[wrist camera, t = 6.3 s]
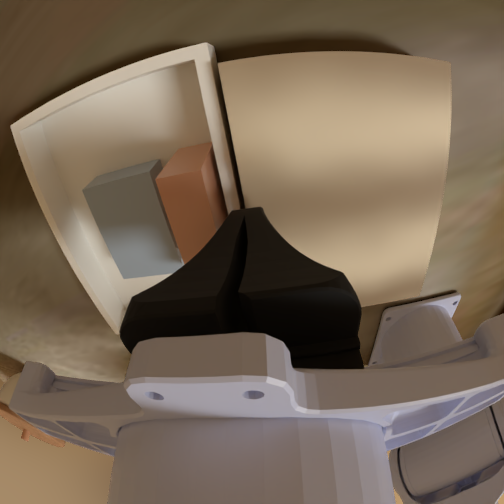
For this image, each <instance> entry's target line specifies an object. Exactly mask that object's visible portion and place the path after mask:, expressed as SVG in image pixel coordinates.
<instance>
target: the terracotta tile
mask: <svg viewBox="0 0 504 504" xmlns="http://www.w3.org/2000/svg"><path fill="white" fill-rule="evenodd" d="M155 180H156V183H157V187H158V190H159V193H160V196H161V199H162V202H163V205H164V208H165V211H166V214H167V217H168V220H169V223H170V226H171V229H172V231H173V234H174V237H175V240H176V243H177V245H178V248H179V251H180V254H181V256H182V259H183V262H184V265H185V264H186V263H187V262H188V261H190V260H191V259H192V258H193V257H194V256H195V255H196V254H197V253H198V252H199V251H200V250H201V249H202V248H203V247H204V246H205V245H206V244H207V243H208V242H209V240H210V239H211V238H212V237H213V236H214V234H215V233H216V232H217V230H218V229H219V228H220V226H221V225H222V224H223V222H224V221H225V219H226V218H227V216H228V211H227V207H226V202H225V198H224V193H223V189H222V185H221V180H220V176H219V171H218V167H217V162H216V158H215V153H214V149H213V144H212V142H208V143H203V144H198V145H193V146H188V147H184V148H179V149H178V150H177V151H176V152H175V154H174V155H173V156H172V157H171V159H170V160H169V161H168V163H167V164H166V165H165V167H164V168H163V169H162V171H161V172H160V173H159V175H158V176H157V178H156V179H155Z"/></svg>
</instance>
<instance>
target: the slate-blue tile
mask: <svg viewBox="0 0 504 504" xmlns="http://www.w3.org/2000/svg"><path fill="white" fill-rule="evenodd" d="M162 169H163V167H162V164H161V161H160V159H156V160H152V161H148V162H145V163H141V164H137V165H133V166H130V167H126V168H122V169H119V170H116V171H112V172H109V173H105V174H102V175H99V176H96V177H95V178H94V179H93V180H92V181H91V182H90V183H89V184H88V185H87V186H86V187H85V188H84V189H83V190H82V191H83V194H84V196H85V199H86V201H87V204H88V206H89V208H90V211H91V213H92V215H93V217H94V220H95V222H96V224H97V226H98V228H99V231H100V233H101V235H102V237H103V239H104V241H105V243H106V245H107V247H108V249H109V251H110V253H111V255H112V257H113V259H114V261H115V263H116V265H117V267H118V269H119V271H120V273H121V275H122V277H123V279H129V278H138V277H147V276H155V275H164V274H172V273H174V272H176V271H177V270H178V269H179V268H181V267H182V266H183V265H184V262H183V259H182V256H181V254H180V251H179V248H178V245H177V243H176V240H175V237H174V234H173V231H172V229H171V226H170V223H169V220H168V217H167V214H166V211H165V208H164V205H163V202H162V199H161V196H160V193H159V190H158V187H157V183H156V180H155V179H156V178H157V176H158V175H159V173H160V172H161V171H162Z"/></svg>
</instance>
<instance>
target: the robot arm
mask: <svg viewBox="0 0 504 504" xmlns="http://www.w3.org/2000/svg"><path fill="white" fill-rule="evenodd" d="M460 298H461V295H460V293H458V292H457V293H453V294H449V295H445V296H441V297H436V298H432V299H428V300H423V301H419V302H415V303H410V304H405V305H400V306H396V307H391V308H387V309H385V310H384V312H383V314H382V318H381V322H380V326H379V330H378V333H377V337H376V341H375V344H374V348H373V351H372V354H371V358H370V361H369V364H368V367H364V365H363V361H362V358H361V354H360V350H359V349H360V341H359V338H358V330H359V325H360V320H361V304H360V301H359V299H358V296H357V294H356V292H355V290H354V289H353V287H352V285H351V283H350V282H349V280H348V279H347V277H346V276H345V274H344V273H343V272H341V271H338V270H335V269H332V268H330V267H327V266H324V265H322V264H320V263H318V262H316V261H314V260H312V259H310V258H308V257H307V256H305V255H304V254H302V253H300V252H299V251H298V250H296V249H295V248H294V247H293V246H292V245H290V244H289V243H288V242H287V241H286V240H285V239H284V238H283V237H282V236H281V235H280V234H279V233H278V232H277V230H276V229H275V228H274V227H273V225H272V224H271V223H270V221H269V220H268V218H267V217H266V215H265V213H264V210H263V208H262V207H253V208H246V209H239V210H232V211H231V212H230V214H229V215H228V216H227V218H226V219H225V221H224V222H223V224H222V225H221V226H220V228H219V229H218V230H217V232H216V233H215V234H214V236H213V237H212V238H211V239H210V240H209V242H208V243H207V244H206V245H205V246H204V247H203V248H202V249H201V250H200V251H199V252H198V253H197V254H196V255H195V256H194V257H193V258H192V259H191V260H190V261H188V262H187V263H186V264H185V265H183V266H182V267H181V268H179V269H178V270H177V271H176V272H174V273H173V274H171V275H170V276H168V277H167V278H165V279H164V280H162V281H161V282H159V283H157V284H156V285H154V286H152V287H150V288H148V289H146V290H144V291H142V292H140V293H139V294H137V295H134V296H132V298H131V300H130V302H129V305H128V307H127V310H126V313H125V315H124V318H123V321H122V324H121V327H120V331H119V333H120V338H121V340H122V342H123V344H124V345H125V347H126V348H127V349H128V351H129V352H130V353H131V354H132V355H131V358H130V362H129V365H128V369H127V373H126V376H125V380H124V382H121V383H114V382H104V381H94V380H85V379H78V378H70V377H64V376H57V375H55V373H54V372H53V371H52V370H51V369H50V368H49V367H47V366H46V365H44V364H42V363H37V362H31V361H26V363H25V365H24V368H23V370H22V372H21V375H20V377H19V379H18V382H17V384H16V387H15V390H14V392H13V395H12V398H11V400H10V403H9V406H8V407H9V409H11V410H12V411H13V412H14V413H16V414H17V415H19V416H20V417H21V418H23V419H24V420H26V421H27V422H28V423H30V424H31V425H33V426H34V427H36V428H37V429H39V430H40V431H42V432H43V433H45V434H47V435H50V436H53V437H55V438H58V439H61V440H64V441H67V442H70V443H72V444H75V445H78V446H81V447H84V448H87V449H90V450H93V451H96V452H100V453H103V454H106V455H110V456H113V457H114V462H113V468H112V474H111V481H110V488H109V495H108V502H107V504H396V503H395V496H394V489H395V491H396V492H397V493H398V494H399V496H400V497H401V499H402V501H403V504H498V500H499V498H500V497H501V496H502V494H503V493H504V314H501V315H499V316H496V317H493V318H491V319H488V320H486V321H484V322H483V323H482V324H481V325H480V326H479V327H478V329H477V330H476V332H475V334H474V337H471V338H468V339H466V340H462V338H461V336H460V334H459V332H458V330H457V328H456V326H455V324H454V322H453V321H452V319H451V318H452V316H453V314H454V312H455V309H456V307H457V305H458V303H459V301H460ZM389 450H391V451H390V454H389V460H388V455H387V451H389ZM393 487H394V489H393Z"/></svg>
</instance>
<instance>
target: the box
mask: <svg viewBox="0 0 504 504" xmlns="http://www.w3.org/2000/svg"><path fill="white" fill-rule="evenodd" d="M10 127H11V130H12V134H13V137H14V140H15V143H16V146H17V149H18V152H19V155H20V158H21V161H22V163H23V166H24V169H25V171H26V174H27V176H28V179H29V181H30V184H31V186H32V189H33V191H34V193H35V196H36V198H37V200H38V202H39V205H40V207H41V209H42V211H43V213H44V216H45V218H46V220H47V222H48V224H49V226H50V228H51V230H52V232H53V234H54V236H55V238H56V240H57V242H58V243H59V245H60V247H61V249H62V251H63V253H64V254H65V256H66V258H67V260H68V262H69V263H70V265H71V267H72V269H73V270H74V272H75V274H76V275H77V277H78V279H79V280H80V282H81V284H82V285H83V287H84V288H85V290H86V292H87V293H88V295H89V296H90V298H91V299H92V301H93V302H94V304H95V305H96V307H97V308H98V310H99V311H100V313H101V314H102V316H103V317H104V319H105V320H106V321H107V323H108V324H109V326H110V327H111V328H112V330H113V331H114V333H115V334H120V333H119V331H120V327H121V324H122V321H123V318H124V315H125V313H126V310H127V307H128V305H129V302H130V300H131V298H132V296H134V295H137V294H139V293H140V292H142V291H144V290H146V289H148V288H150V287H152V286H154V285H156V284H157V283H159V282H161V281H162V280H164V279H165V278H167V277H168V276H170V275H171V274H164V275H155V276H147V277H138V278H129V279H123V277H122V275H121V273H120V271H119V269H118V267H117V265H116V263H115V261H114V259H113V257H112V255H111V253H110V251H109V249H108V247H107V245H106V243H105V241H104V239H103V237H102V235H101V233H100V231H99V228H98V226H97V224H96V222H95V220H94V217H93V215H92V213H91V211H90V208H89V206H88V204H87V201H86V199H85V196H84V194H83V191H82V190H83V189H84V188H85V187H86V186H87V185H88V184H89V183H90V182H91V181H92V180H93V179H94V178H95V177H96V176H99V175H102V174H105V173H109V172H112V171H116V170H119V169H122V168H126V167H130V166H133V165H137V164H141V163H145V162H148V161H152V160H156V159H160V161H161V164H162V167H163V168H164V167H165V165H166V164H167V163H168V161H169V160H170V159H171V157H172V156H173V155H174V154H175V152H176V151H177V150H178V149H179V148H184V147H188V146H193V145H198V144H203V143H208V142H212V144H213V149H214V153H215V158H216V162H217V167H218V171H219V176H220V180H221V185H222V189H223V193H224V198H225V202H226V207H227V211H228V215H229V214H230V212H231V211H232V210H239V209H246V207H245V202H244V197H243V192H242V186H241V181H240V176H239V171H238V166H237V161H236V156H235V150H234V145H233V140H232V135H231V130H230V125H229V120H228V114H227V109H226V104H225V99H224V94H223V89H222V84H221V79H220V74H219V68H218V63H217V58H216V53H215V48H214V46H212V45H211V44H209V43H207V42H206V43H202V44H197V45H193V46H189V47H185V48H181V49H178V50H174V51H170V52H167V53H163V54H160V55H157V56H154V57H151V58H148V59H145V60H142V61H139V62H136V63H133V64H130V65H128V66H125V67H122V68H120V69H117V70H115V71H112V72H110V73H107V74H105V75H102V76H100V77H98V78H96V79H93V80H91V81H89V82H87V83H85V84H82V85H80V86H78V87H76V88H74V89H72V90H70V91H68V92H66V93H64V94H62V95H60V96H59V97H57V98H55V99H53V100H51V101H49V102H48V103H46V104H44V105H42V106H41V107H39V108H37V109H36V110H34V111H32V112H31V113H29V114H28V115H26V116H24V117H23V118H21V119H20V120H18V121H17V122H15V123H14V124H12V125H11V126H10ZM172 274H173V273H172Z"/></svg>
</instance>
